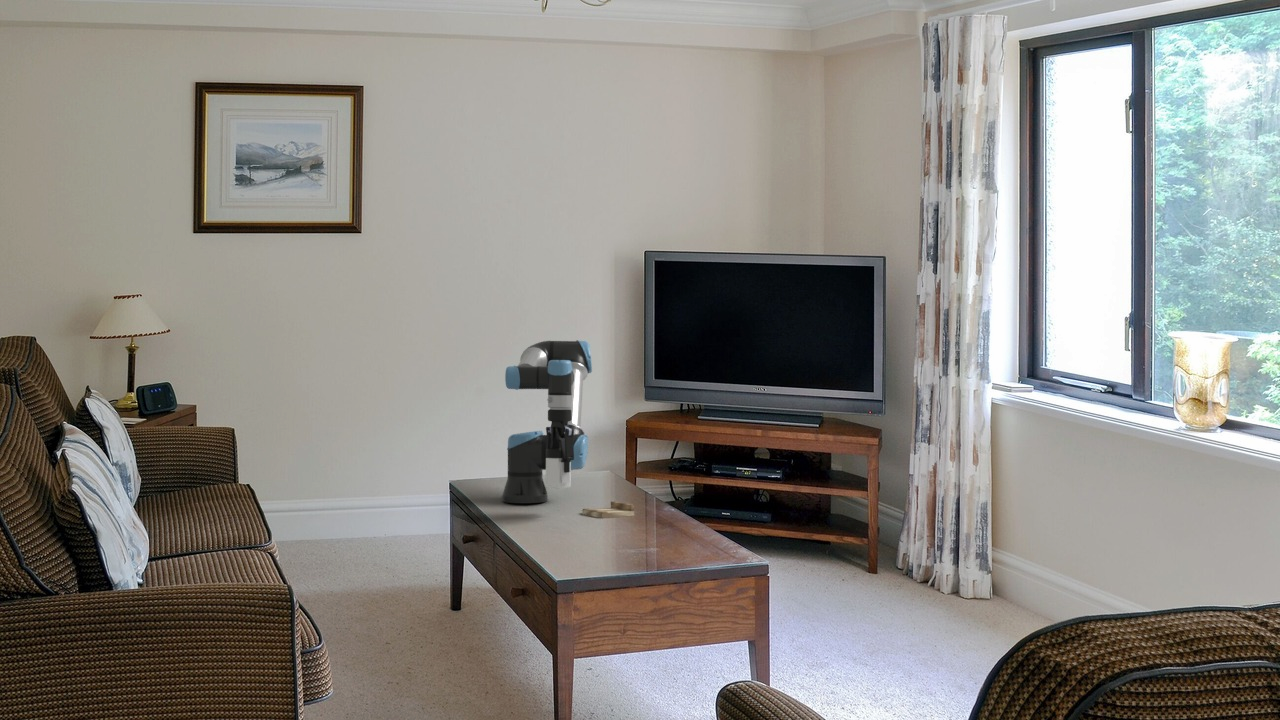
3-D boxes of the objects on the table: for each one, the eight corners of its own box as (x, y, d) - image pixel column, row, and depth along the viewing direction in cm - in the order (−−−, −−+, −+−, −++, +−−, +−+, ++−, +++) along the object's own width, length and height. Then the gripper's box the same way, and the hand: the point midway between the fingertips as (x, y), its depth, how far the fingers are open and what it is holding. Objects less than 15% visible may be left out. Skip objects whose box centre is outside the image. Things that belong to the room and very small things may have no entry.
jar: (552, 488, 339) (552, 450, 339) (539, 486, 346) (540, 448, 346) (576, 487, 344) (577, 449, 344) (564, 484, 351) (564, 447, 351)
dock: (582, 514, 350) (582, 503, 350) (613, 512, 356) (613, 501, 356) (602, 518, 340) (602, 506, 340) (634, 515, 346) (634, 504, 346)
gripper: (534, 408, 351) (534, 479, 350) (564, 410, 335) (564, 485, 334) (555, 407, 355) (554, 478, 355) (585, 409, 339) (585, 483, 339)
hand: (559, 481), depth 345 cm, fingers closed on jar, 6 cm apart
